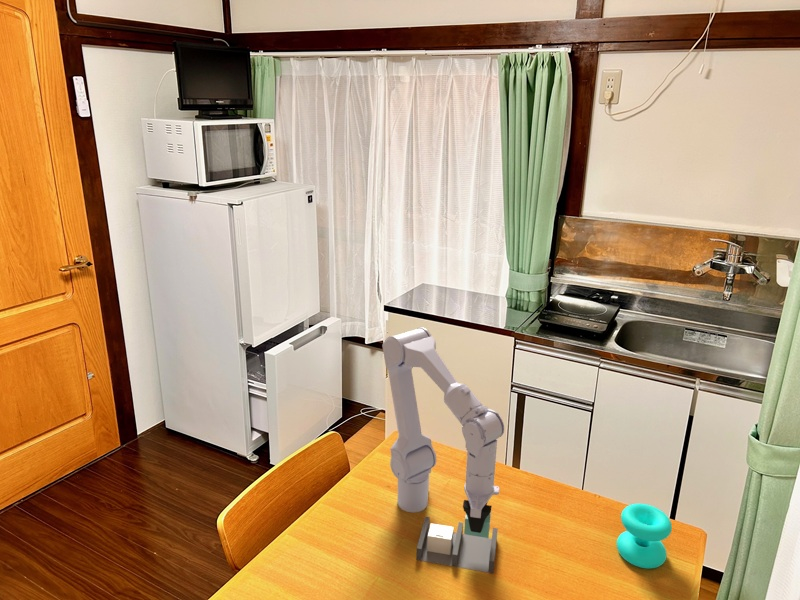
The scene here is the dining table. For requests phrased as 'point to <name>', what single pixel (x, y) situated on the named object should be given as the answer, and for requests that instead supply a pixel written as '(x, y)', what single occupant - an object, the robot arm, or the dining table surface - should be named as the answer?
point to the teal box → (485, 528)
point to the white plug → (440, 539)
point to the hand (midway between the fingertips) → (477, 523)
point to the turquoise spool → (644, 535)
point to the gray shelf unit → (461, 550)
